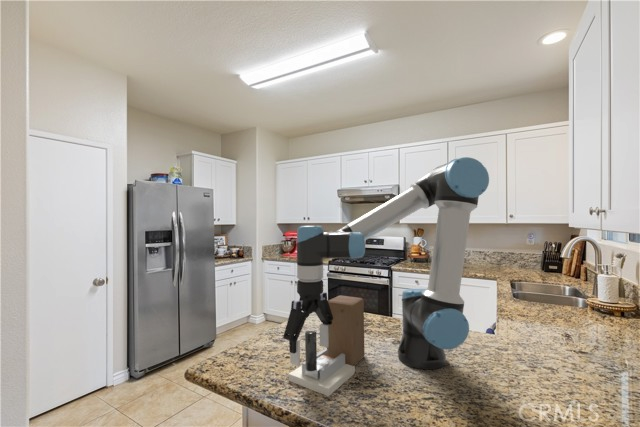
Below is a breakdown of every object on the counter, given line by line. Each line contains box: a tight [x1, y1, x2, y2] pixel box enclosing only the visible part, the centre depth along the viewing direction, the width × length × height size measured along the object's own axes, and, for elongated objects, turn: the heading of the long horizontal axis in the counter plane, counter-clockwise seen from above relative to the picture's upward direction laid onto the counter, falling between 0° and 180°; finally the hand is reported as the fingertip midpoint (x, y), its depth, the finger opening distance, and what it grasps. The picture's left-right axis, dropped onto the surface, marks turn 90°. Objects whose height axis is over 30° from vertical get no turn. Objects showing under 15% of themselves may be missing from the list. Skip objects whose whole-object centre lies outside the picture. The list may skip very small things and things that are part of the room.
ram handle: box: [304, 330, 335, 379], centre depth 87 cm, size 4×11×12 cm, turn 145°
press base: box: [288, 348, 356, 397], centre depth 88 cm, size 14×14×5 cm
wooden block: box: [326, 295, 366, 367], centre depth 100 cm, size 10×10×20 cm
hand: (310, 354), depth 84 cm, fingers open, 13 cm apart
